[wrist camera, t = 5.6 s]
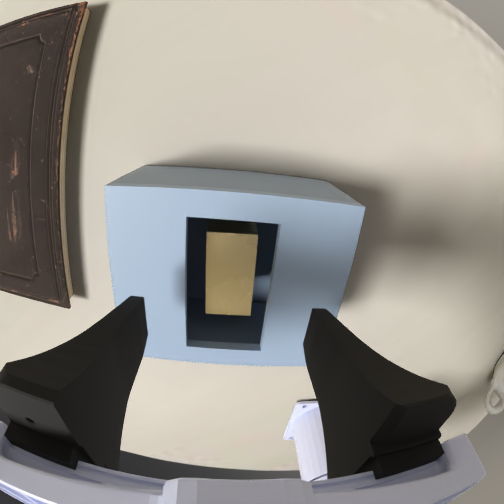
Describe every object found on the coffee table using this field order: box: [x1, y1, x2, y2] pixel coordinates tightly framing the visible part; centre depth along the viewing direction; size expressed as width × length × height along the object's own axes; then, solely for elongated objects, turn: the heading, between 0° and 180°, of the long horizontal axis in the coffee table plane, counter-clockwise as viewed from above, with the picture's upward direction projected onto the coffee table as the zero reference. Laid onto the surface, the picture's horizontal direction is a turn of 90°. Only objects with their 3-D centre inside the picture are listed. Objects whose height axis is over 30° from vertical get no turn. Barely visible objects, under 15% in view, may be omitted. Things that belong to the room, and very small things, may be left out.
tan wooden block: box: [206, 218, 258, 316], centre depth 18 cm, size 3×5×4 cm, turn 175°
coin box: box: [105, 165, 366, 366], centre depth 17 cm, size 12×10×6 cm
